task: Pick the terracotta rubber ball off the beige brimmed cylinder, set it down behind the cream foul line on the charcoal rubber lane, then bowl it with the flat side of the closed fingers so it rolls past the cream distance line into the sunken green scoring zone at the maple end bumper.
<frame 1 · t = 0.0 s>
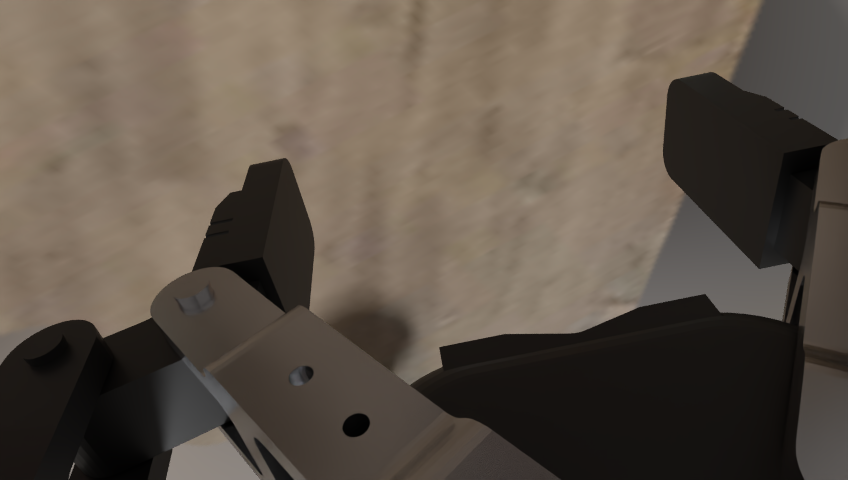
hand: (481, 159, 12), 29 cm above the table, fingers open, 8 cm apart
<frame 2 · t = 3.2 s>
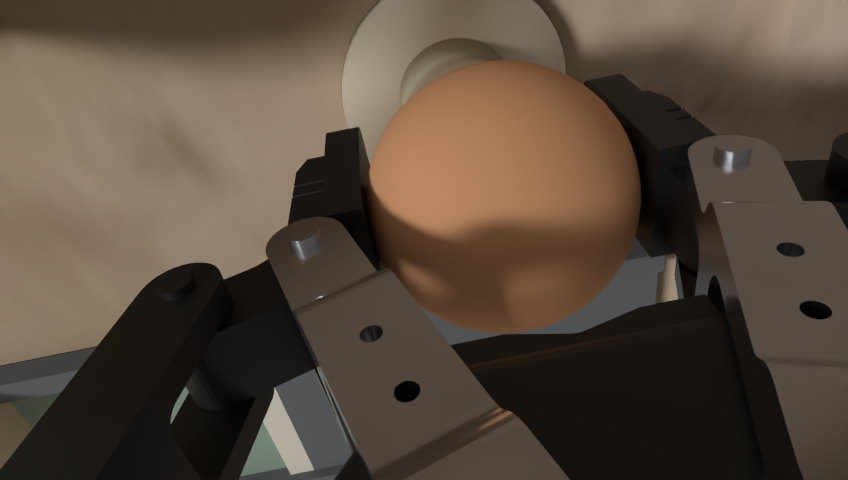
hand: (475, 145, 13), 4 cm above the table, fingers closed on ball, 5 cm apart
ball: (499, 199, 11), point 6 cm above the table, touching gripper, beige brimmed cylinder
beige brimmed cylinder: (452, 87, 16), on the table
lane: (339, 391, 22), on the table
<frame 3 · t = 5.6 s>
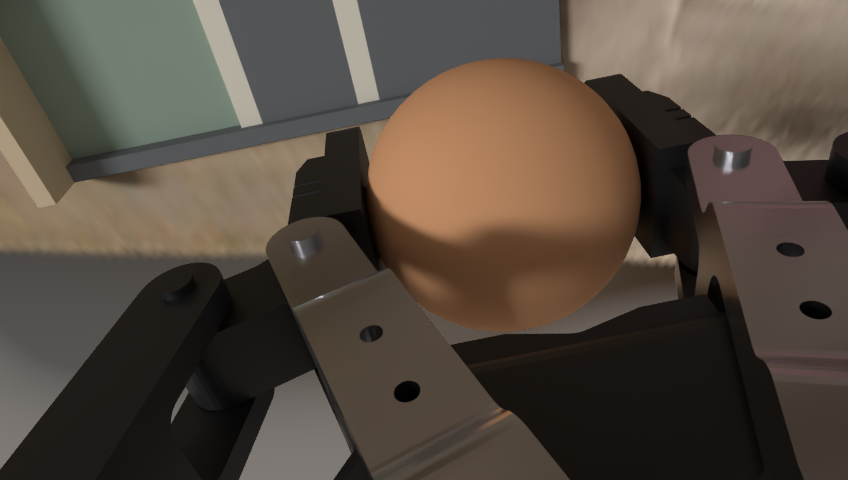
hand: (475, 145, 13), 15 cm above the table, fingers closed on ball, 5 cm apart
ball: (499, 197, 11), point 17 cm above the table, touching gripper
lane: (281, 30, 25), on the table
when the fingers open (2 cm above the table, at t = 8.2 s): ball stays where it is, resting on lane.
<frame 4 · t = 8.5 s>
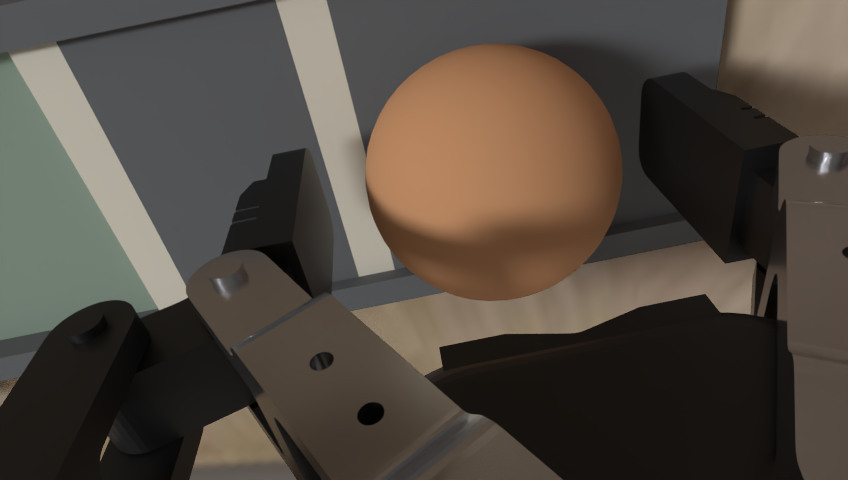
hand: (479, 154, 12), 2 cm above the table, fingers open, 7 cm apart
ball: (490, 175, 11), point 3 cm above the table, touching lane
lane: (224, 166, 14), on the table
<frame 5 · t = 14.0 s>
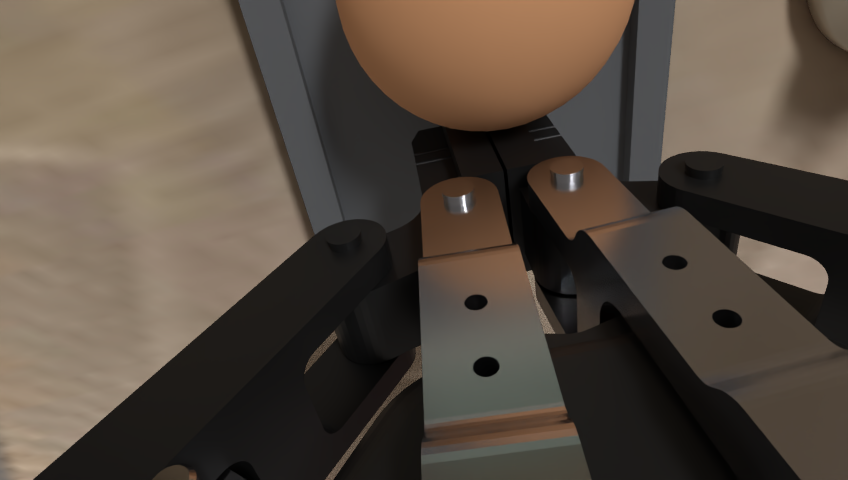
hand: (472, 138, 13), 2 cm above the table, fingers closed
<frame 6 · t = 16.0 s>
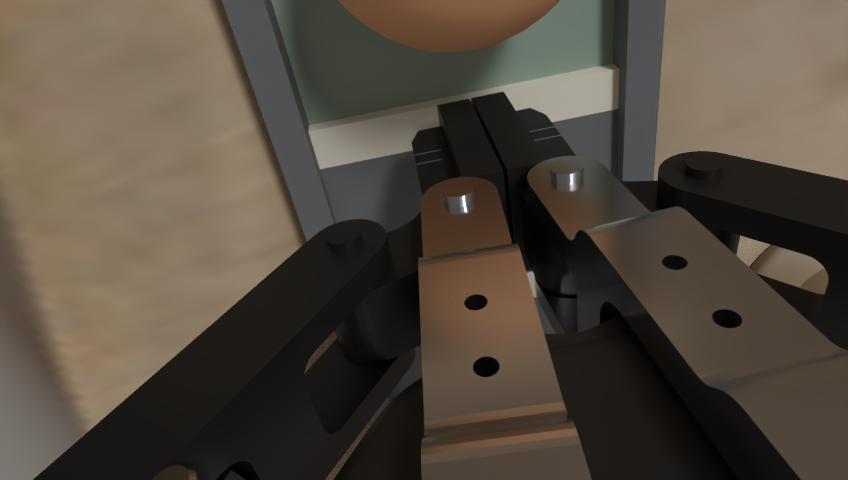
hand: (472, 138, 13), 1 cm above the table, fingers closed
beige brimmed cylinder: (822, 284, 19), on the table
lane: (474, 196, 16), on the table
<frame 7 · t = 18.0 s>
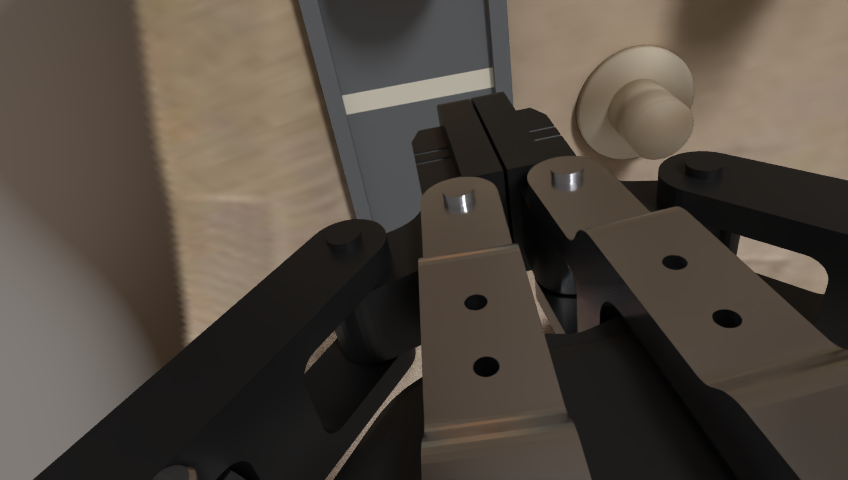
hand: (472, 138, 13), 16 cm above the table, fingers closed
beige brimmed cylinder: (632, 102, 30), on the table
lane: (407, 25, 27), on the table
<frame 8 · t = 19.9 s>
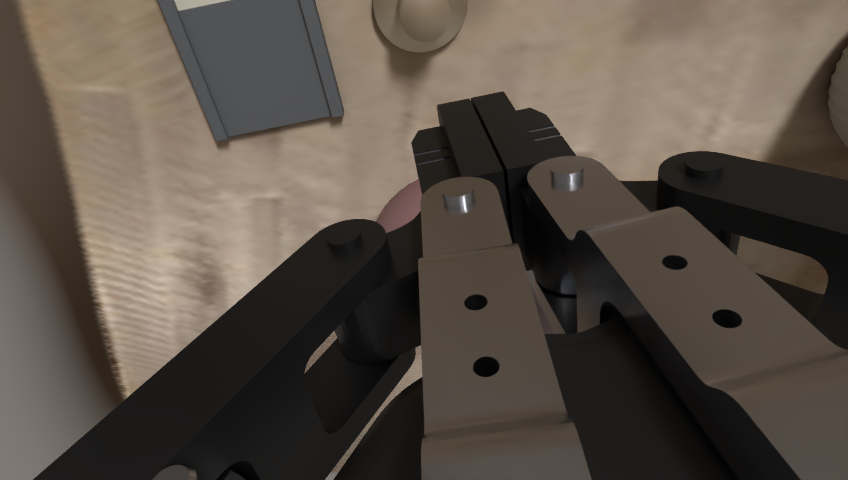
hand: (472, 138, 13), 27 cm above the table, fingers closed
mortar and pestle: (441, 211, 46), on the table
beige brimmed cylinder: (419, 2, 37), on the table
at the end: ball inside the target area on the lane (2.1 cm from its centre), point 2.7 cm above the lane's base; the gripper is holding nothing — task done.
